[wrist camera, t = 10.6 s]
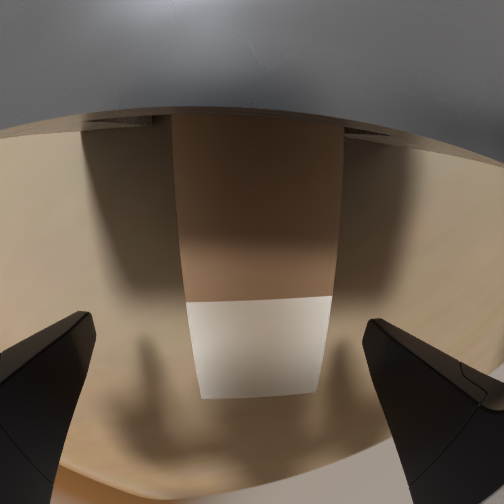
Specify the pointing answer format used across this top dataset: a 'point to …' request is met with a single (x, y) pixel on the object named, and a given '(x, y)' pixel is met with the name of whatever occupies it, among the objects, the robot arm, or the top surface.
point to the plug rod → (257, 248)
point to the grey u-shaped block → (261, 67)
